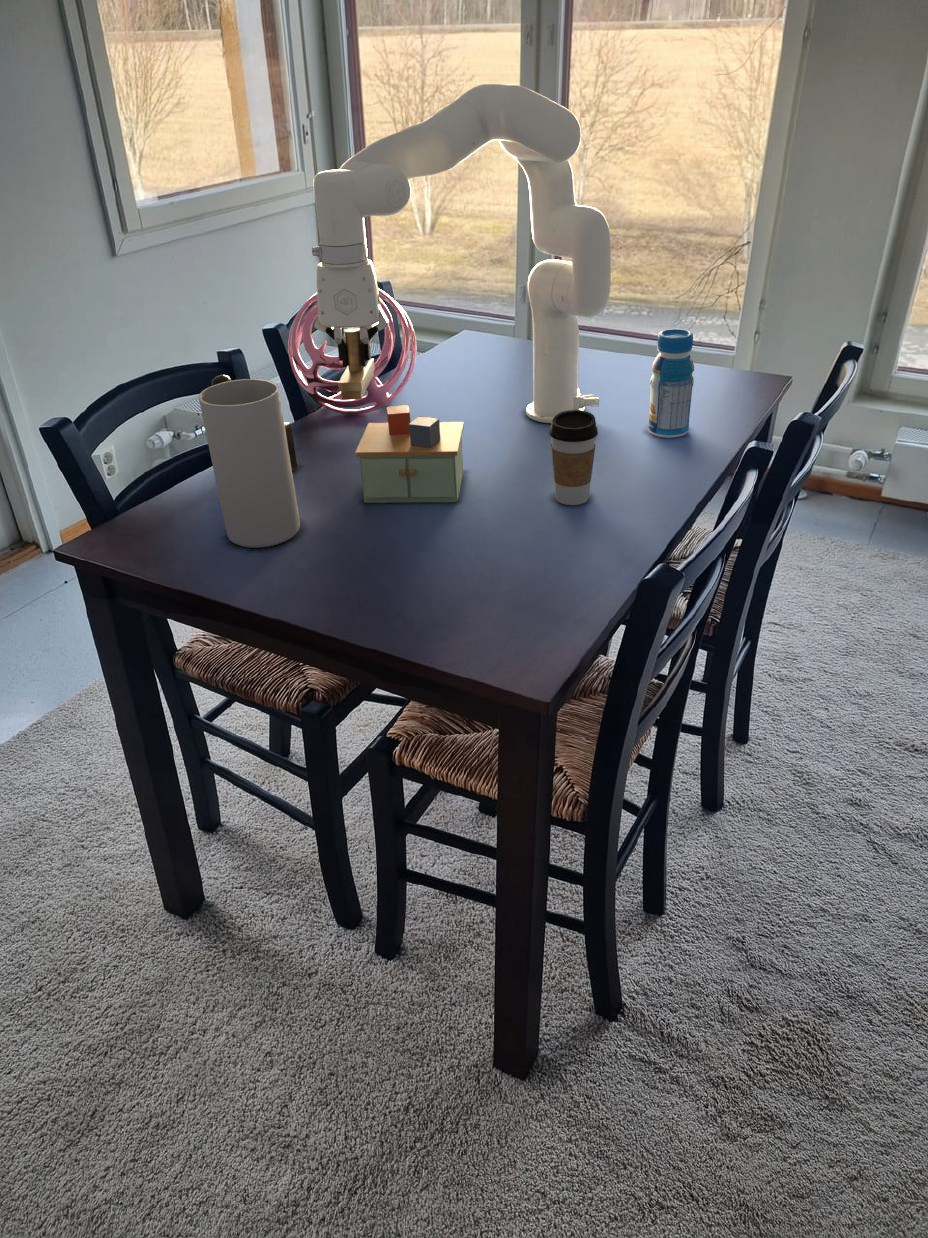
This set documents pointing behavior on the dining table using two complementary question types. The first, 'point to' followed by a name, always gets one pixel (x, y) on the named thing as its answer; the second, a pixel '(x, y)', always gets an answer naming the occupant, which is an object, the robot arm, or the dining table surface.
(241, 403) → the cylinder vase
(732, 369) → the dining table surface
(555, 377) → the robot arm
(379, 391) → the pink openwork sphere
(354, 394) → the brush
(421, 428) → the slate block
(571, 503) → the coffee cup
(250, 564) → the dining table surface
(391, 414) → the terracotta block
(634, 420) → the dining table surface
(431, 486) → the cabinet
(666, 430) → the beverage bottle
